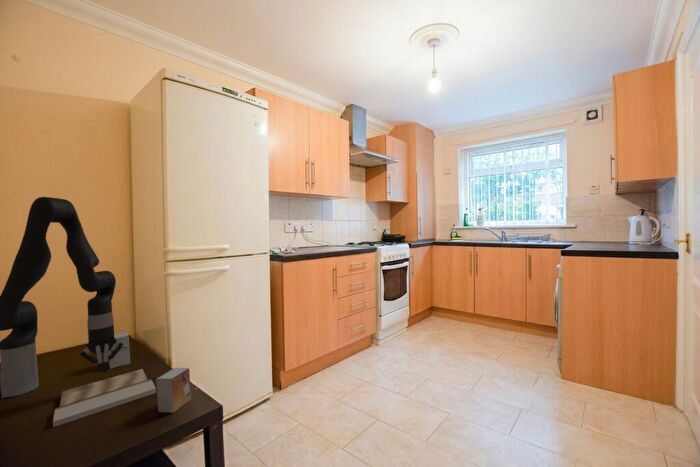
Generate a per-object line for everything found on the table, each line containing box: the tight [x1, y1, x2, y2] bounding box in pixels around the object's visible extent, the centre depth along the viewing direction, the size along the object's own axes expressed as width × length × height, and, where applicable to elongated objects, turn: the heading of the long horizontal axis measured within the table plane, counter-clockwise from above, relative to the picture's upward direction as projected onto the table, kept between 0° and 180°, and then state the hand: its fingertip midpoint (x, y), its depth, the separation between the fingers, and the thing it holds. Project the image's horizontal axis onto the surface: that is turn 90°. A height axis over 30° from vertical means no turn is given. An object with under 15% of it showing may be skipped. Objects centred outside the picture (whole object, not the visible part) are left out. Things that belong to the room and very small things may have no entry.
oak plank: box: [59, 368, 149, 407], centre depth 113 cm, size 24×14×2 cm, turn 131°
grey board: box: [52, 379, 157, 428], centre depth 104 cm, size 26×10×2 cm, turn 131°
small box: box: [155, 367, 192, 414], centre depth 99 cm, size 8×6×10 cm
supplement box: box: [108, 332, 131, 370], centre depth 137 cm, size 7×7×13 cm
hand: (103, 371), depth 115 cm, fingers closed
